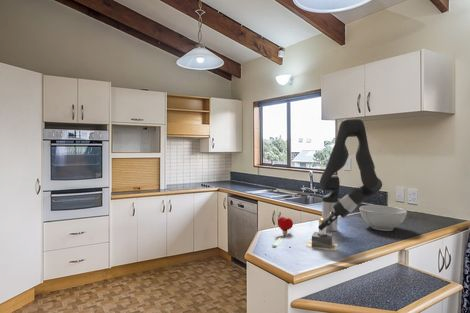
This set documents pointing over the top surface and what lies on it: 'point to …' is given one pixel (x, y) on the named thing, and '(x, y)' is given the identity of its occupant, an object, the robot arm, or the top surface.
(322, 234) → the key peg
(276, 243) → the sage mat
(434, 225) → the top surface
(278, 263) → the top surface
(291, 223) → the red rounded lobed piece
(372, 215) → the decorative bowl
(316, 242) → the stand
